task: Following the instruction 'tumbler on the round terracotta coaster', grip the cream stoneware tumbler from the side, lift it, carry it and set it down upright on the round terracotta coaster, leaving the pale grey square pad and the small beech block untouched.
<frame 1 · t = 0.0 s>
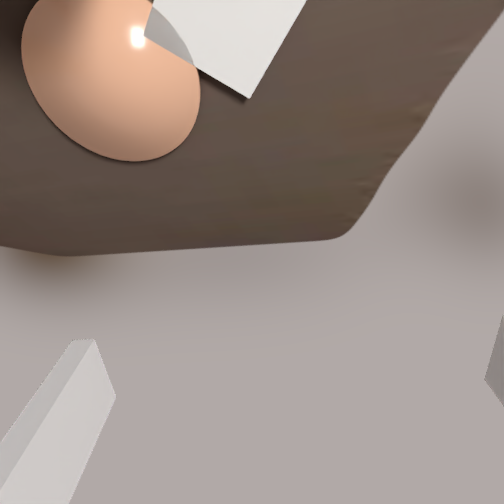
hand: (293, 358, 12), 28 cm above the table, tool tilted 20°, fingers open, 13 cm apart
terracotta coaster: (117, 82, 32), on the table
grey square pad: (226, 6, 28), on the table
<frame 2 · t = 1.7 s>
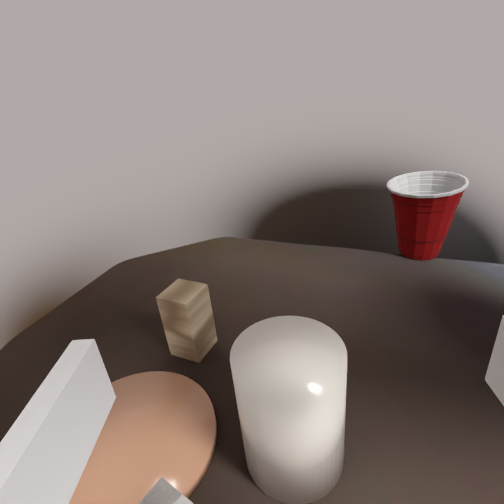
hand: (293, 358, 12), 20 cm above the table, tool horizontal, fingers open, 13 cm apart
stoneware tumbler: (293, 452, 29), on the table
beech block: (194, 347, 42), on the table
plastic cup: (416, 253, 57), on the table
terracotta coaster: (133, 443, 31), on the table
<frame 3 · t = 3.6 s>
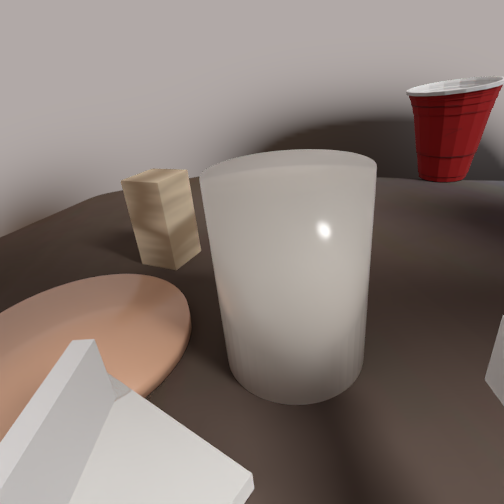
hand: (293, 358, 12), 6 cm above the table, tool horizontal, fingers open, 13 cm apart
stoneware tumbler: (294, 349, 21), on the table
beech block: (172, 257, 34), on the table
plastic cup: (439, 178, 49), on the table
terracotta coaster: (78, 344, 23), on the table
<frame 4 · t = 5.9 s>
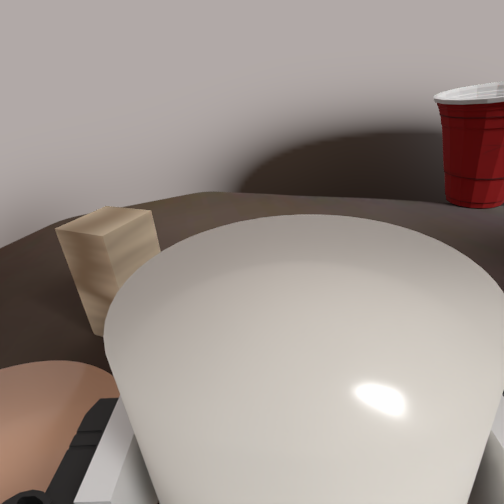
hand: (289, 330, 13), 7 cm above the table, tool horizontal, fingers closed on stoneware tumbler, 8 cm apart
beech block: (135, 323, 25), on the table
plastic cup: (471, 202, 40), on the table
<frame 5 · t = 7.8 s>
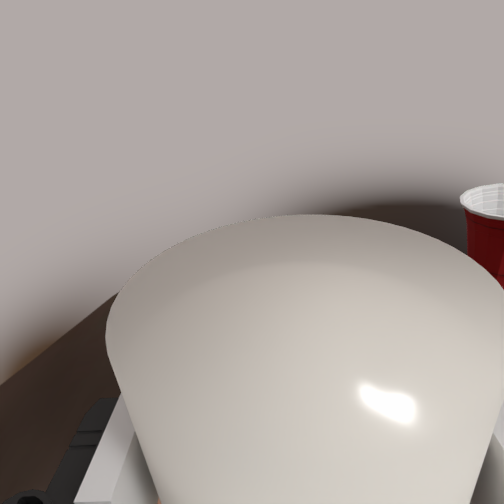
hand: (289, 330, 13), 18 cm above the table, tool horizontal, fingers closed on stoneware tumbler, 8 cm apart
plastic cup: (492, 286, 45), on the table
when the fingers open (8 cm above the table, at t = 10.1 s): stoneware tumbler stays where it is, resting on terracotta coaster.
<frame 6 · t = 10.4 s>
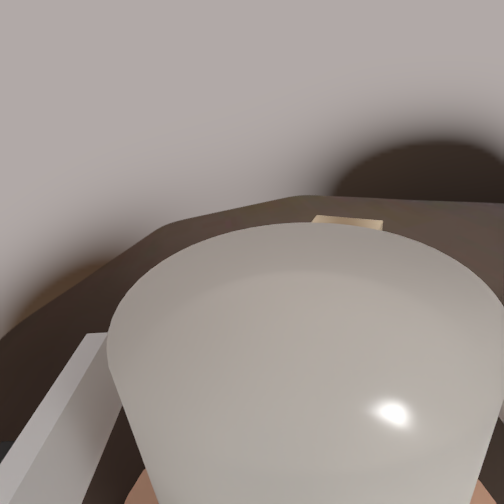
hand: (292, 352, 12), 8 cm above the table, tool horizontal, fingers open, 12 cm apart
beech block: (338, 339, 24), on the table
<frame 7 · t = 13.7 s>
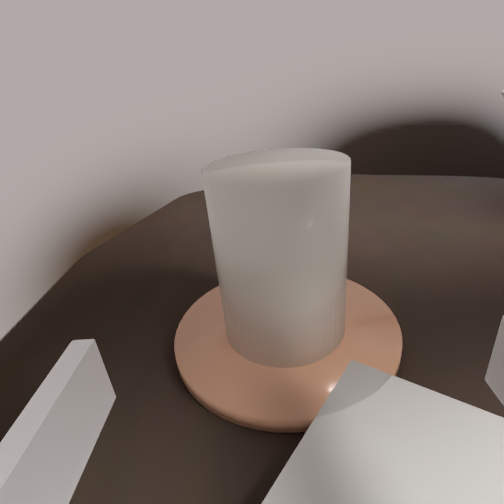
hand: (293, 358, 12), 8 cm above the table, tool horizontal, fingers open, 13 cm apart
stoneware tumbler: (284, 324, 24), point 1 cm above the table, touching terracotta coaster
terracotta coaster: (284, 335, 25), on the table
grey square pad: (418, 494, 15), on the table
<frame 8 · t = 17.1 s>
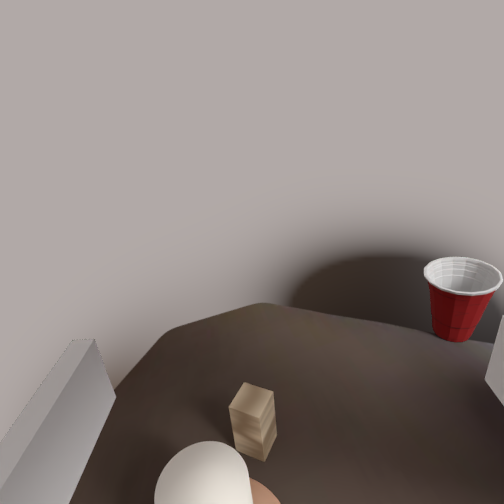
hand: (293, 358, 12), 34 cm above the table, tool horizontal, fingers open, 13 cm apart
beech block: (256, 442, 46), on the table
plastic cup: (449, 332, 61), on the table
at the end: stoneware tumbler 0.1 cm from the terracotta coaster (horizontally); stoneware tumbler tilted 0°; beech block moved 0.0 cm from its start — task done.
